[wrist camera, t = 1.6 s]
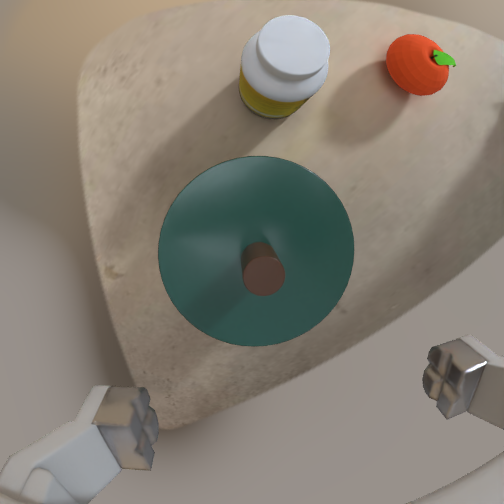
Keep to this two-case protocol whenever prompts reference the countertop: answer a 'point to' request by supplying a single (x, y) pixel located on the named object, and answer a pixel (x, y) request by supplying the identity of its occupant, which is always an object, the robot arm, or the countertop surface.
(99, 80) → the countertop surface
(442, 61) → the clementine
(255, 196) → the lid
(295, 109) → the pill bottle
